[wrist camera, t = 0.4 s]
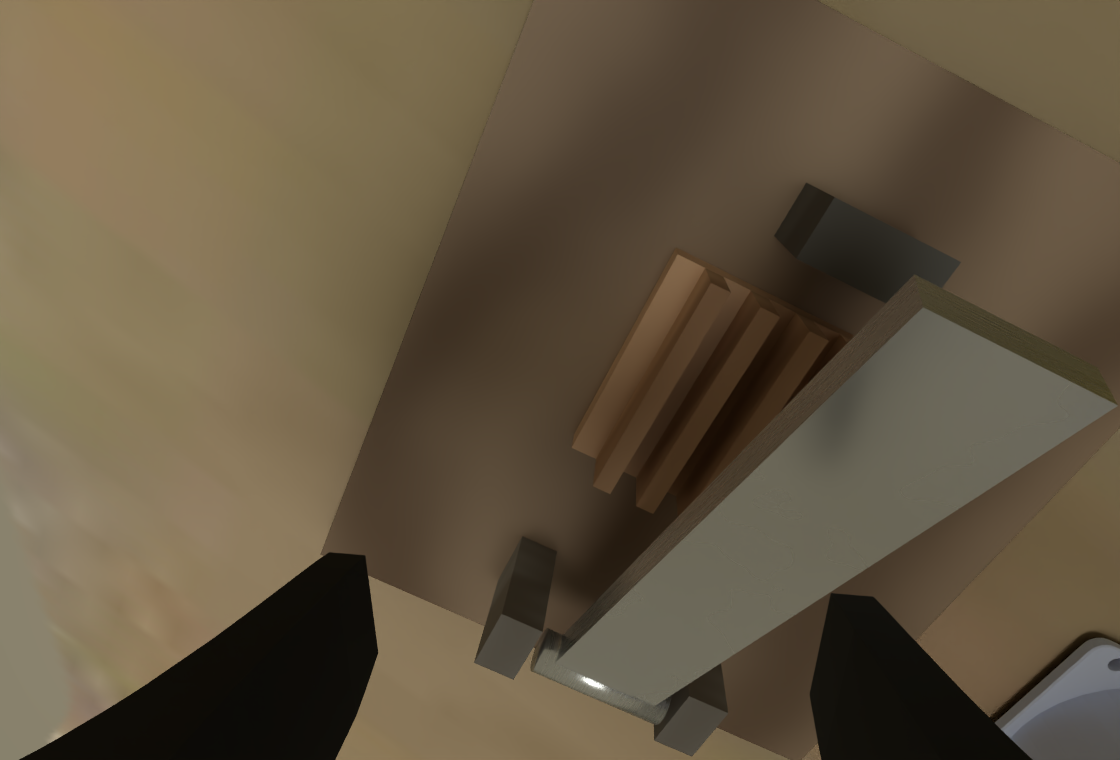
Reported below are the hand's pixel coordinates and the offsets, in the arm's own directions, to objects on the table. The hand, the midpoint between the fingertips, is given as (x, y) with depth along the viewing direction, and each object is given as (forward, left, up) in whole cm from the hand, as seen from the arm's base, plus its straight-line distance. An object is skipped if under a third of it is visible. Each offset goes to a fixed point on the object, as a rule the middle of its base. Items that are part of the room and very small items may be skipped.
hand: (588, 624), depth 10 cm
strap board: (-3, 0, -10) cm, 10 cm away
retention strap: (-3, 0, -4) cm, 5 cm away
